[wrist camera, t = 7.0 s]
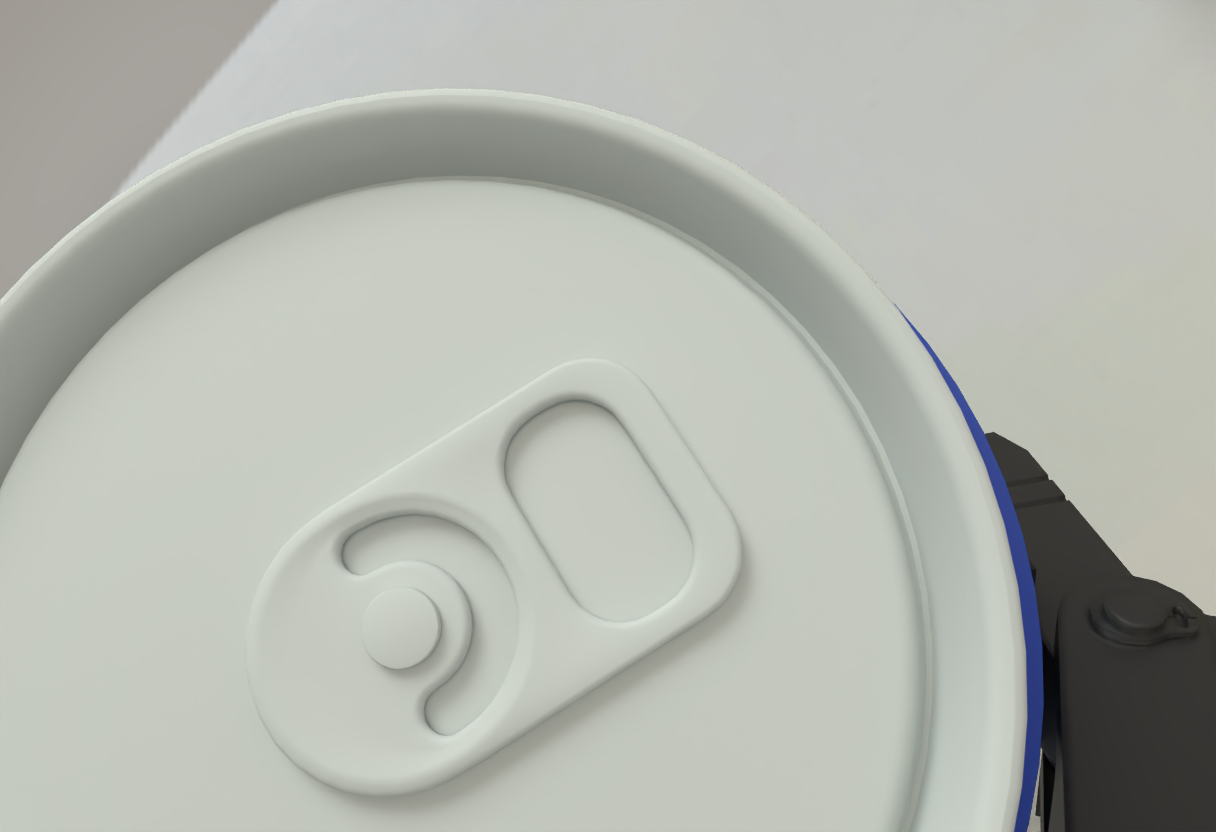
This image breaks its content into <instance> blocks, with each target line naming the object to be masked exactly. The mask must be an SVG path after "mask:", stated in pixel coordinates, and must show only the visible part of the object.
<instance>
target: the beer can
mask: <svg viewBox="0 0 1216 832" xmlns="http://www.w3.org/2000/svg"><path fill="white" fill-rule="evenodd" d="M1043 707H1044V697H1043V658H1042V640H1041V632H1040V624H1039V616H1038V608H1037V600H1036V592H1035V586H1034V582H1033V578H1032V573H1031V569H1030V564H1029V560H1028V555H1027V551H1026V547H1025V542H1024V538H1023V533H1022V530H1021V527H1020V524H1019V521H1018V518H1017V515H1016V512H1015V509H1014V506H1013V503H1012V500H1011V497H1010V494H1009V491H1008V488H1007V485H1006V482H1005V480H1004V477H1003V475H1002V473H1001V471H1000V468H999V466H998V464H997V462H996V459H995V457H994V455H993V452H992V450H991V448H990V446H989V443H988V441H987V439H986V437H985V434H984V432H983V430H982V428H981V427H980V425H979V423H978V421H977V420H976V418H975V416H974V414H973V412H972V411H971V409H970V407H969V405H968V404H967V402H966V400H965V398H964V396H963V395H962V393H961V391H960V389H959V388H958V386H957V384H956V383H955V381H954V380H953V379H952V377H951V376H950V374H949V373H948V371H947V370H946V369H945V367H944V366H943V364H942V363H941V361H940V360H939V359H938V357H937V356H936V354H935V353H934V351H933V350H932V348H931V347H930V346H929V344H928V343H927V342H926V340H925V339H924V338H923V337H922V336H921V335H920V333H919V332H918V331H917V330H916V329H915V327H914V326H913V325H912V324H911V323H910V322H909V320H908V319H907V318H906V317H905V316H904V315H903V313H902V312H901V311H900V310H899V309H898V307H897V306H896V305H895V304H894V303H893V302H892V301H891V300H890V299H889V298H888V296H887V295H886V294H885V293H884V292H883V291H882V289H881V288H880V287H879V286H878V285H877V283H876V282H875V281H874V280H873V279H872V278H871V276H870V275H869V274H868V273H867V272H866V270H865V269H864V268H863V267H862V266H861V265H860V264H859V263H858V262H857V261H856V260H855V259H854V258H853V257H852V256H851V255H850V254H849V253H848V252H847V251H846V250H845V249H844V248H843V247H842V246H841V245H840V244H839V243H838V242H837V241H835V240H834V239H833V238H832V237H831V236H830V235H829V234H828V233H827V232H826V231H825V230H824V229H823V228H822V227H821V226H820V225H818V224H817V223H816V222H815V221H813V220H812V219H811V218H810V217H808V216H807V215H806V214H805V213H803V212H802V211H801V210H800V209H798V208H797V207H796V206H795V205H793V204H792V203H791V202H790V201H788V200H787V199H786V198H785V197H783V196H782V195H781V194H780V193H778V192H777V191H775V190H774V189H772V188H771V187H769V186H767V185H766V184H764V183H763V182H761V181H760V180H758V179H757V178H755V177H754V176H752V175H751V174H749V173H748V172H746V171H744V170H743V169H741V168H740V167H738V166H737V165H735V164H734V163H732V162H730V161H728V160H726V159H724V158H722V157H720V156H718V155H716V154H714V153H713V152H711V151H709V150H707V149H705V148H703V147H701V146H699V145H697V144H695V143H693V142H692V141H690V140H688V139H685V138H683V137H680V136H678V135H675V134H673V133H671V132H668V131H666V130H663V129H661V128H658V127H656V126H653V125H651V124H649V123H646V122H644V121H641V120H638V119H635V118H632V117H628V116H625V115H622V114H619V113H615V112H612V111H609V110H605V109H602V108H599V107H595V106H592V105H588V104H583V103H578V102H573V101H568V100H563V99H559V98H554V97H549V96H544V95H537V94H528V93H519V92H510V91H501V90H492V89H444V88H439V89H425V90H411V91H397V92H387V93H380V94H374V95H368V96H362V97H355V98H349V99H343V100H338V101H334V102H330V103H326V104H322V105H318V106H314V107H310V108H306V109H302V110H298V111H294V112H290V113H288V114H285V115H282V116H279V117H276V118H273V119H270V120H267V121H264V122H261V123H258V124H255V125H253V126H250V127H247V128H244V129H242V130H239V131H237V132H235V133H232V134H230V135H228V136H226V137H223V138H221V139H219V140H217V141H214V142H212V143H210V144H207V145H205V146H203V147H201V148H198V149H196V150H194V151H193V152H191V153H189V154H187V155H185V156H183V157H182V158H180V159H178V160H176V161H174V162H172V163H171V164H169V165H167V166H165V167H163V168H161V169H159V170H158V171H156V172H154V173H152V174H151V175H149V176H148V177H146V178H144V179H143V180H141V181H140V182H138V183H137V184H135V185H134V186H132V187H131V188H129V189H128V190H126V191H125V192H123V193H122V194H120V195H119V196H117V197H115V198H114V199H112V200H111V201H109V202H108V203H107V204H105V205H104V206H103V207H102V208H100V209H99V210H98V211H97V212H95V213H94V214H93V215H91V216H90V217H89V218H88V219H86V220H85V221H84V222H83V223H81V224H80V225H79V226H78V227H76V228H75V229H73V230H72V231H71V232H70V233H68V234H67V235H66V236H65V237H64V238H63V239H62V240H60V241H59V242H58V243H57V244H56V245H55V246H54V247H53V248H52V249H51V250H50V251H48V252H47V254H45V255H44V256H43V257H42V258H41V259H40V260H39V261H38V262H36V263H35V264H34V265H33V266H32V267H31V268H30V269H29V270H28V271H27V272H26V273H25V274H24V275H23V276H22V277H21V278H20V279H19V281H18V282H17V283H16V284H15V285H14V286H13V287H12V288H11V289H10V290H9V291H8V293H6V295H5V296H4V297H3V298H2V299H1V300H0V832H1027V828H1028V825H1029V820H1030V814H1031V808H1032V803H1033V797H1034V791H1035V786H1036V780H1037V774H1038V769H1039V761H1040V748H1041V734H1042V721H1043Z"/></svg>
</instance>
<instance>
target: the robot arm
mask: <svg viewBox="0 0 1216 832" xmlns="http://www.w3.org/2000/svg"><path fill="white" fill-rule="evenodd" d="M985 437H986V439H987V441H988V443H989V446H990V448H991V450H992V452H993V455H994V457H995V459H996V462H997V464H998V466H999V468H1000V471H1001V473H1002V475H1003V477H1004V480H1005V482H1006V485H1007V488H1008V491H1009V494H1010V497H1011V500H1012V503H1013V506H1014V509H1015V512H1016V515H1017V518H1018V521H1019V524H1020V527H1021V530H1022V533H1023V538H1024V542H1025V547H1026V551H1027V555H1028V560H1029V564H1030V569H1031V573H1032V578H1033V582H1034V586H1035V592H1036V600H1037V608H1038V616H1039V624H1040V632H1041V640H1042V658H1043V697H1044V707H1043V721H1042V734H1041V748H1042V759H1041V768H1040V777H1039V786H1038V796H1037V805H1036V814H1035V815H1036V816H1040V826H1041V832H1216V616H1209V615H1206V614H1204V613H1203V611H1202V610H1201V609H1200V608H1198V607H1197V606H1196V605H1195V604H1194V603H1193V602H1191V601H1190V600H1189V599H1188V598H1187V597H1186V596H1184V595H1183V594H1182V593H1180V592H1178V591H1176V590H1174V589H1172V588H1169V587H1167V586H1165V585H1163V584H1161V583H1159V582H1157V581H1153V580H1149V579H1144V578H1140V577H1135V576H1133V575H1132V574H1131V573H1130V572H1129V571H1128V569H1127V568H1126V567H1125V566H1124V565H1123V564H1122V562H1121V561H1120V560H1119V559H1118V558H1117V556H1116V555H1115V554H1114V553H1113V552H1112V550H1111V549H1110V548H1109V547H1108V546H1107V545H1106V543H1105V542H1104V541H1103V540H1102V539H1101V537H1100V536H1099V535H1098V534H1097V533H1096V531H1095V530H1094V529H1093V528H1092V527H1091V526H1090V524H1089V523H1088V522H1087V521H1086V520H1085V518H1084V517H1083V516H1082V515H1081V514H1080V512H1079V511H1078V510H1077V509H1076V508H1075V507H1074V505H1073V504H1072V503H1071V502H1070V501H1069V500H1068V501H1066V499H1065V495H1064V493H1063V492H1062V491H1061V490H1060V489H1059V488H1058V486H1057V485H1056V484H1055V483H1054V482H1053V480H1049V479H1048V474H1047V473H1046V472H1045V471H1044V470H1043V469H1042V467H1041V466H1040V465H1039V464H1038V463H1037V461H1036V460H1035V459H1034V458H1033V457H1032V455H1031V454H1030V453H1029V452H1028V451H1027V450H1026V449H1024V448H1022V447H1020V446H1018V445H1016V444H1015V443H1013V442H1011V441H1009V440H1007V439H1006V438H1004V437H1002V436H1000V435H998V434H996V433H995V432H992V433H987V434H985Z"/></svg>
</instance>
